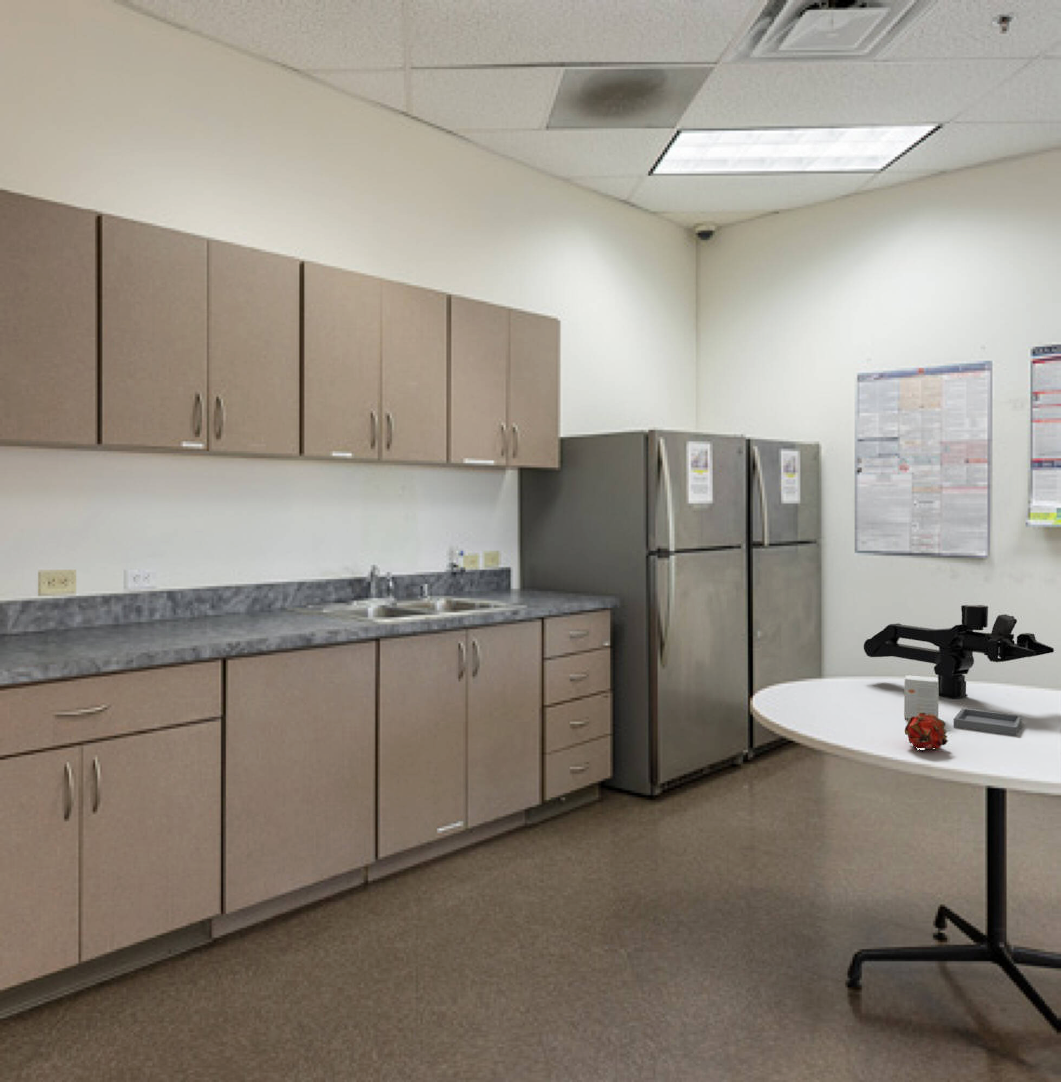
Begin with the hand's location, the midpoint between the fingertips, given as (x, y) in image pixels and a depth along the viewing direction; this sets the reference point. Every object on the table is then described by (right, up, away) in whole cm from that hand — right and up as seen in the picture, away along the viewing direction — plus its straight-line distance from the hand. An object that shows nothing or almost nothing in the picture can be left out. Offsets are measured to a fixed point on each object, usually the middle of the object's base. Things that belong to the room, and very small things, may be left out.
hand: (1044, 651), depth 223 cm
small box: (-34, -17, -4) cm, 38 cm away
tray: (-20, -17, -10) cm, 28 cm away
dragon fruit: (-45, -18, -31) cm, 58 cm away
